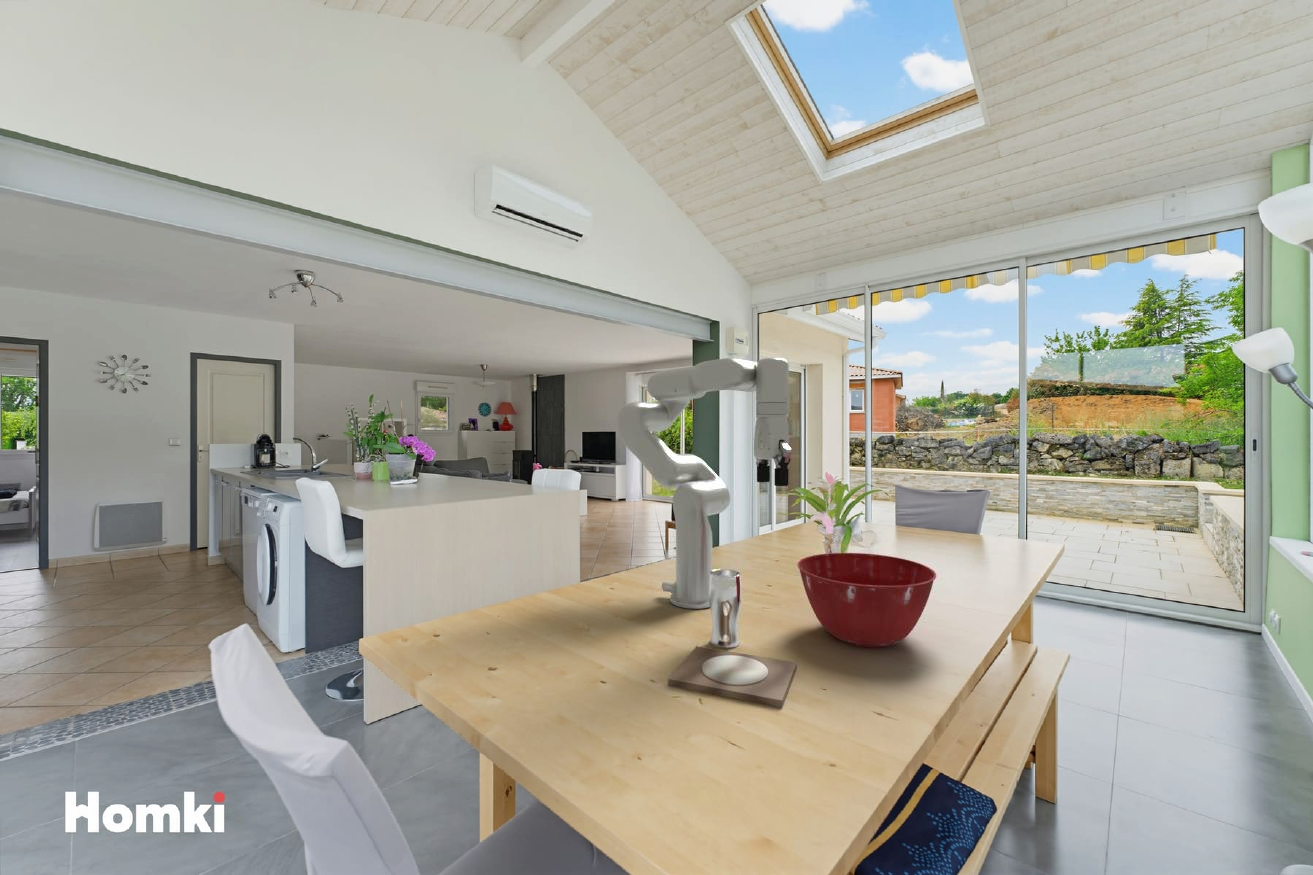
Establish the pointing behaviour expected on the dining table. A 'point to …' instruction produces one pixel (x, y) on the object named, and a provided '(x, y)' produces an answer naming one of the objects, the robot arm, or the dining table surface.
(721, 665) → the walnut board
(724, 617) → the silver metal tumbler
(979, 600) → the dining table surface
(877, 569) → the mixing bowl
